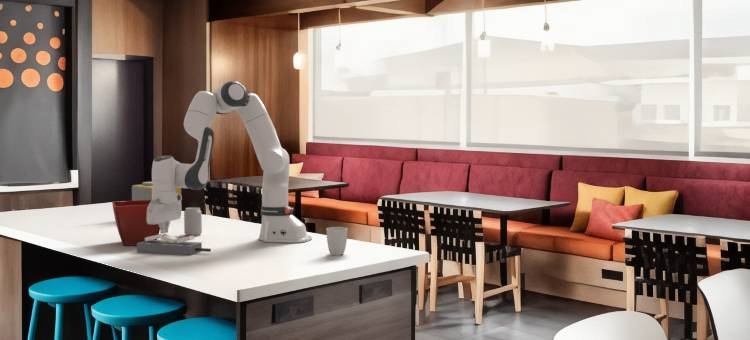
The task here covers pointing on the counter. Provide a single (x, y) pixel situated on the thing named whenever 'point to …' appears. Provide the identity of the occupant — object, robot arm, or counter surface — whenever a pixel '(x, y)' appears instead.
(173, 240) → the rocker
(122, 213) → the plant pot
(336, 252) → the cup
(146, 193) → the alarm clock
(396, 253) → the counter surface
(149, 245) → the rocker switch panel
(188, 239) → the block
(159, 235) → the rocker
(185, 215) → the can
